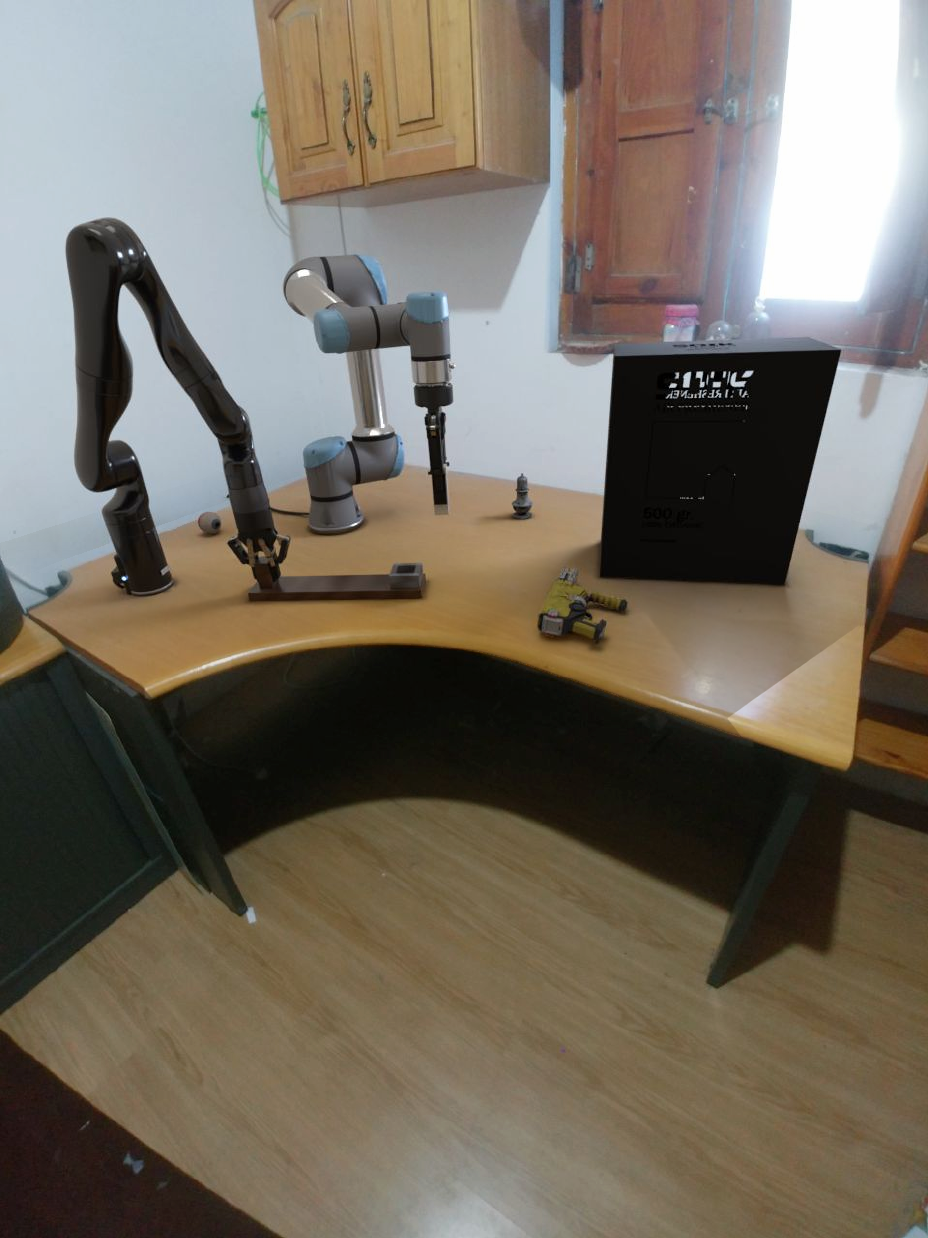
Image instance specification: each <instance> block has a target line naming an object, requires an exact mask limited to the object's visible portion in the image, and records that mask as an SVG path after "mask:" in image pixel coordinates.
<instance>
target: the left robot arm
mask: <svg viewBox="0 0 928 1238" xmlns="http://www.w3.org/2000/svg"><path fill="white" fill-rule="evenodd" d="M64 248H65V249H64V250H65V251H64V253H65V261H66V269H67V274H68V275H67V276H68V281H69V287H70V295H71V302H72V309H73V310H72V311H73V333H74V349H75V350H74V355H75V356H74V362H75V363H74V368H75V386H76V429H75V430H76V431H75V438H74V449H73V462H74V464H73V465H74V469H75V473H76V476H77V478H78V480H79V482H80V483H81V485H82V486H83V487H84V489H86V490H88V491H90V492H92V493H99V494H100V493H104V492H109V491H112V490H115V492H114V493H113V496H112V497H111V498H110V500H109V501H108V502H107V503H106V504H104V505H103V507H102V508H101V515H102V518H103V521H104V523H105V524H104V525H105V526H106V528H107V532H108V535H109V537H110V540H111V542H112V545H113V548H114V550H115V554H114V555H113V559H114V562H115V565H116V566H115V567H114V568H113V569H112V570H111V572H110V575H111V577H112V582H113V584H114V585H115V586H116V587H117V588H119V589H121V590H124V589H125V591H126V594H127V595H132V596H136V597H145V596H152V595H157V594H159V593H163V592H165V591H167V590H168V589H170V588H171V587H172V586H173V585H174V583H175V581H174V578H173V576H172V573H171V566H170V564H169V563H168V561H167V558H166V554H165V552H164V549H163V546H162V542H161V539H160V536H159V533H158V530H157V526H156V524H155V522H154V518H153V515H152V512H151V509H150V497H149V492H148V489H147V486H146V483H145V478H144V475H143V470H142V468H141V464H140V461H139V458H138V456H137V455H136V452H135V450H134V449H133V448H132V447H131V446H130V444H129V443H127V442H126V441H124V440H122V439H112V440H110V439H111V434H112V433H113V431H114V429H115V427H116V425H117V424H118V422H119V421H120V419H121V418H122V416H123V415H124V413H125V411H126V410H127V408H128V406H129V404H130V402H131V399H132V397H133V390H134V361H133V356H132V353H131V351H130V348H129V346H128V344H127V342H126V340H125V337H124V336H123V333H122V331H121V327H120V323H119V305H120V295H121V290H122V286H124V287H125V288H126V290H128V292H129V293H130V294H131V295H132V297H134V299H135V301H136V303H137V304H138V306H139V307H140V309H141V310H142V312H143V314H144V316H145V318H146V321H147V323H148V325H149V328H150V331H151V333H152V337H153V340H154V342H155V343H154V344H155V345H156V349H157V351H158V354H159V355H160V358H161V360H162V362H163V364H164V365H165V367H166V368H167V370H168V371H169V373H170V374H171V376H172V377H173V378H174V379H175V381H176V382H177V384H178V385H179V386H180V388H181V389H182V390H183V391H184V393H185V394H186V395H187V397H188V398H189V399H190V401H191V402H192V403H193V404H194V406H195V409H197V411H198V413H199V415H200V416H201V418H202V419H203V421H204V422H205V424H206V425H207V427H208V429H209V430H210V432H211V433H212V434H213V436H214V437H215V438H216V440H217V443H218V446H219V451H220V454H221V458H222V459H221V460H222V469H223V474H224V478H225V482H226V486H227V490H228V491H227V492H228V494H229V498H228V499H229V504H230V506H231V511H232V514H233V519H234V521H235V527H236V529H237V534H236V536H232V537H231V538H230V539H229V540H228V541H227V543H226V545H227V546H228V547H229V548H230V550H231V551H232V552H233V554H234V555H235V557H236V558H237V559H238V561H239V562H240V564H241V565H248V566H249V567H250V568H251V572H252V576H253V578H254V580H256V582H258V579H257V575H256V571H255V567H254V563H255V562H256V561H257V560H258V558H259V557H260V556H259V555H260V552H261V553H263V554H264V555H263V556H265V557H266V558H267V559H268V561H269V563H270V565H271V566H270V570H271V574H272V578H273V581H278V579H279V578H280V577H281V576H282V573H281V567H280V565H281V564H283V563H284V561H285V560H286V559H287V556H288V553H289V548H290V543H291V540H292V537H291V536H290V535H289V534H287V535H285V536H284V535H282V534H280V533H279V532H278V530H277V529H276V528H275V523H274V517H273V513H272V510H271V508H270V507H271V504H270V498H269V495H268V492H267V488H266V486H265V482H264V478H263V475H262V474H263V473H262V469H261V465H260V462H259V460H258V457H257V453H256V448H255V444H254V443H255V442H254V437H253V431H252V426H251V425H252V424H251V420H250V417H249V414H248V413H247V411H246V409H244V408H243V407H242V406H241V405H239V404H238V403H237V402H236V401H235V399H234V398H233V396H232V395H231V393H229V391H228V390H227V388H226V387H225V385H224V382H223V379H222V377H221V375H220V374H219V372H218V371H217V370H216V368H215V367H214V365H213V364H212V362H211V361H210V359H209V358H208V356H207V355H206V353H205V351H203V349H202V348H201V346H200V345H199V343H198V342H197V340H196V339H195V337H194V335H193V334H192V332H191V331H190V330H189V328H188V326H187V324H186V323H185V321H184V319H183V318H182V317H183V316H181V314H180V312H179V310H178V308H177V307H176V305H175V303H174V301H173V299H172V297H171V295H170V293H169V291H168V289H167V287H166V286H165V284H164V281H163V280H162V278H161V276H160V274H159V271H158V270H157V268H156V266H155V264H154V262H153V260H152V257H150V254H149V252H148V251H147V249H146V247H145V245H144V243H143V242H142V240H141V238H140V237H139V235H138V234H137V233H136V232H135V231H134V229H133V228H132V227H131V226H130V225H129V224H128V223H126V222H124V221H123V220H121V219H119V218H116V217H108V216H107V217H106V216H105V217H100V218H96V219H94V220H90V221H86V222H83V223H80V224H78V225H75V226H74V227H72V229H71V230H70V231H69V232H68V234H67V236H66V239H65V247H64ZM276 541H277V543H278V546H279V550H278V553H277V549H276V547H275V543H276ZM242 544H243V545H244V546H245V547H246V548H247V550H246V549H245V547H244V546H243V545H242Z"/></svg>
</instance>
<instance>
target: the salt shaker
mask: <svg viewBox="0 0 928 1238" xmlns="http://www.w3.org/2000/svg"><path fill="white" fill-rule="evenodd" d="M529 490H530V489H529V488H528V477H527V476H525V475H524V472H521V474H520V476H518V477H517V478H516V488H515V492H516V498H515V500H514V501H511V505H512V509H513V510H514V513H512V517H513V518H515V519H518V520H519V519H521V520H523V519H529V518H532V516H533V514H532V513H531V512H530V511H531V509H532V506H533V504H534V502H533V501H532V500H530V499H529Z"/></svg>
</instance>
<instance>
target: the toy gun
mask: <svg viewBox="0 0 928 1238" xmlns="http://www.w3.org/2000/svg"><path fill="white" fill-rule="evenodd" d="M568 571H569V572H570V573H569V572H568ZM578 576H579V569H577V568H576V567H572V569H570V566H564V567H563V568H562V570H561V572H560V575H559V576H558V577H557V579H556V580H555V582H554V583H553V586H552V588H551V590H550V592H549V593H548V596H547V597H546V600H545V602H544V603H543V606H542V607H541V610H540V611H539V613H538V616H537V624H536V628H537V630H538V631H539V632H541V633H544V636H546V637H548V636H549V637H550V638H554V637H555V636H559V637H565V636H568V635H571V634H573V633H575V634H578V635H582V636H584V637H587V638H590V639H592V640H594V645H599V643H600V642H601V640H602V639H603V638H604V636H605V632H606V628H607V622H608V621H607V620H605V619H604V618H601V619H600V620H599V622H596V621H593V618H594V617H593V615H592V613H591V612H589V611H587V610H588V609H587V606H588V605H589V603H593V604H597V605H598V606H602V605H603V607H605V608H607V607H608V608H609V609H613V610H614V609H615V611H619V612H620V613H623V612H626V610H627V608H628V603H629V601H628V600H627V599H625V598H624V599H623V598H617V597H616V596H611V595H610V594H605V593H600V592H598V591H592V592H591V593H590V594H589V593H588V591H587V589H586V588H585V587H583V586H578V585H576V584H577V582H578Z"/></svg>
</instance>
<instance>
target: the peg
mask: <svg viewBox="0 0 928 1238" xmlns="http://www.w3.org/2000/svg"><path fill="white" fill-rule="evenodd" d="M444 470H445V478H446V493H447V505H434V504H433V509H434V516H447V515H448V516H449V515H450V509H451V508H450V493H449V491H450V490H449V477H448V466H447V464H444ZM431 488H433V485H432V487H431ZM432 499H433V500H434V498H432Z"/></svg>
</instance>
